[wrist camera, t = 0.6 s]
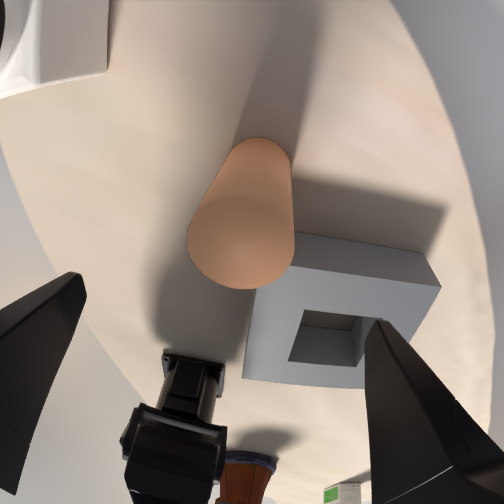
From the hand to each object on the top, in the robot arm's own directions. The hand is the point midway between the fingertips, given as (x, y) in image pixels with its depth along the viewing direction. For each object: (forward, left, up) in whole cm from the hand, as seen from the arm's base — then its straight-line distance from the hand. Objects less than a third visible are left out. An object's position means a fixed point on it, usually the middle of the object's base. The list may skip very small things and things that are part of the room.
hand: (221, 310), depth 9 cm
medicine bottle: (+9, +14, -13) cm, 21 cm away
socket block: (-10, -7, -12) cm, 17 cm away
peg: (0, 0, -12) cm, 12 cm away
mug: (-53, -2, -13) cm, 54 cm away
